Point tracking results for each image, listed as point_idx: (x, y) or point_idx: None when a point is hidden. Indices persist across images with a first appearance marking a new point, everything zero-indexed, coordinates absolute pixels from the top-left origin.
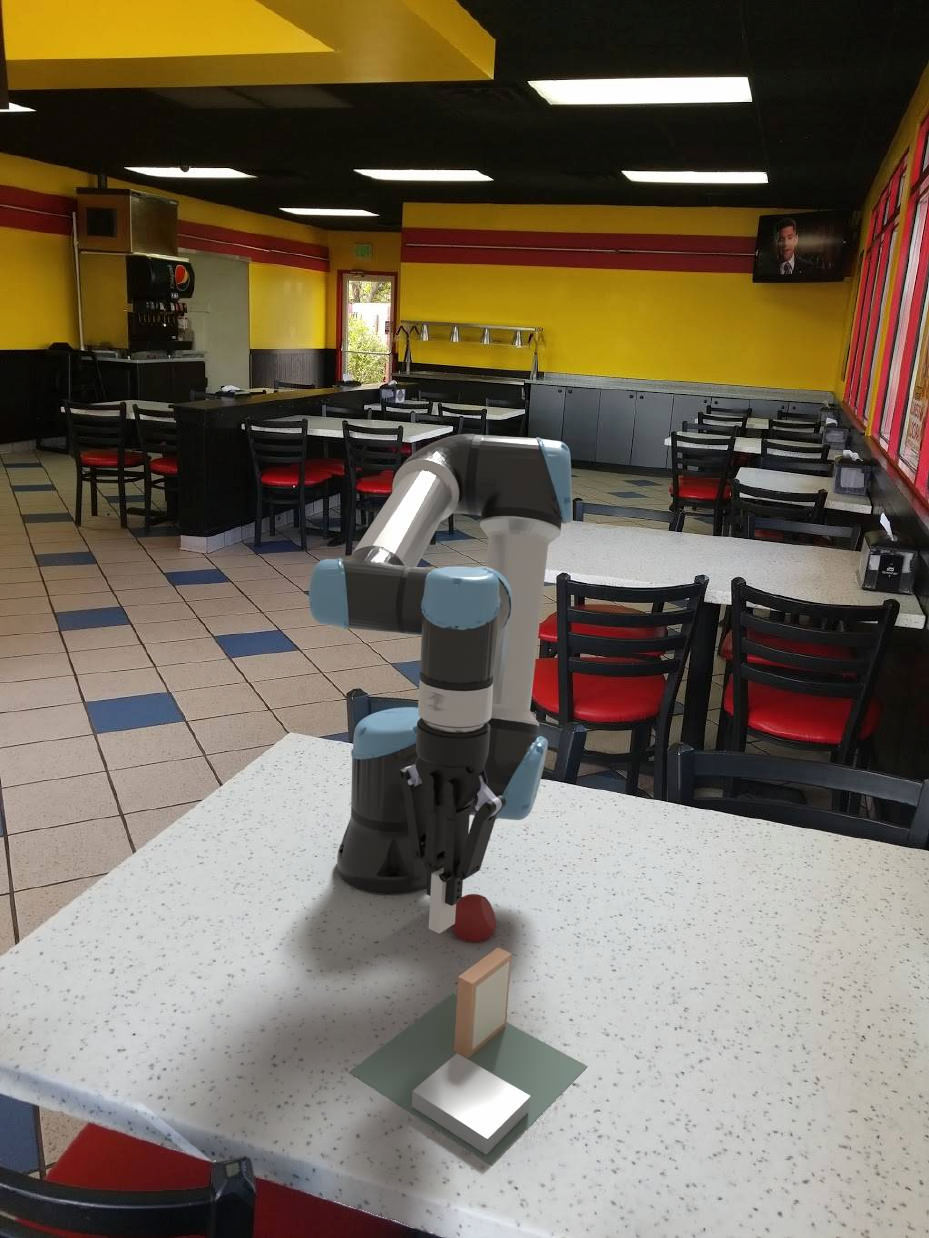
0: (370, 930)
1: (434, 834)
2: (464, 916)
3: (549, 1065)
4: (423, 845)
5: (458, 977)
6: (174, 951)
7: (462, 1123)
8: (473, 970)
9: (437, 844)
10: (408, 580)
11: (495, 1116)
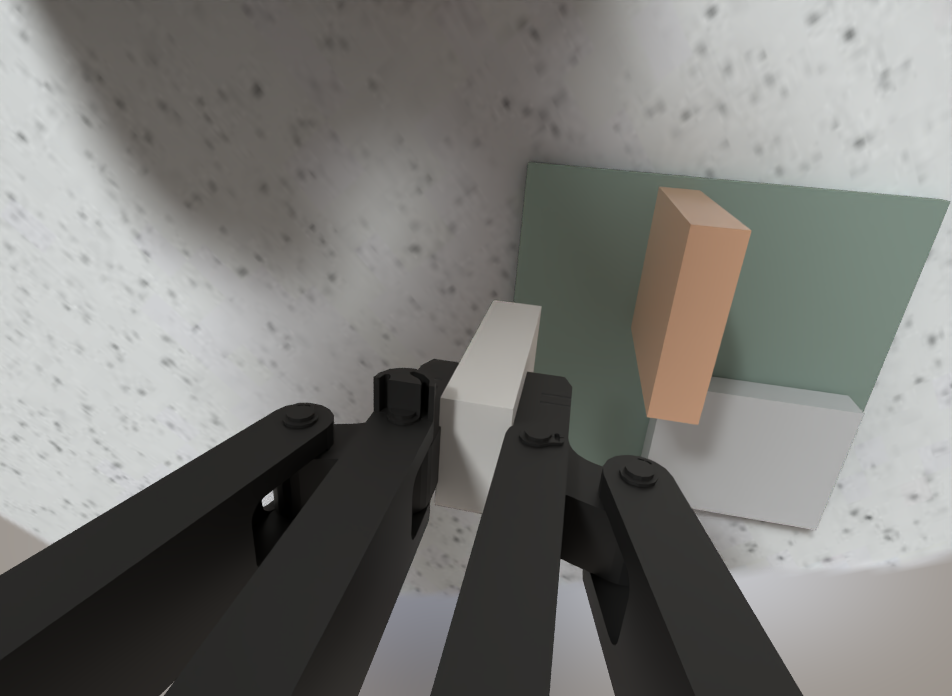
0: (212, 57)
1: (356, 692)
2: None
3: (850, 252)
4: (289, 491)
5: (646, 414)
6: (56, 364)
7: (757, 519)
8: (672, 372)
9: (390, 595)
10: None
11: (811, 484)
